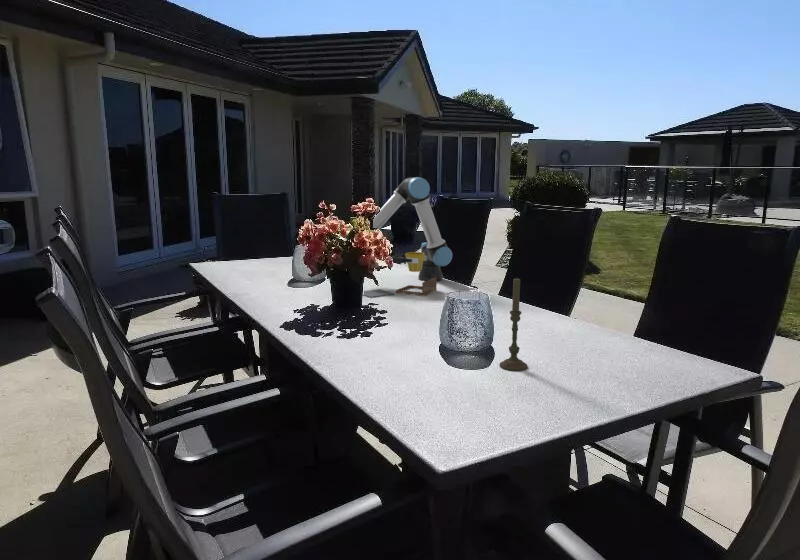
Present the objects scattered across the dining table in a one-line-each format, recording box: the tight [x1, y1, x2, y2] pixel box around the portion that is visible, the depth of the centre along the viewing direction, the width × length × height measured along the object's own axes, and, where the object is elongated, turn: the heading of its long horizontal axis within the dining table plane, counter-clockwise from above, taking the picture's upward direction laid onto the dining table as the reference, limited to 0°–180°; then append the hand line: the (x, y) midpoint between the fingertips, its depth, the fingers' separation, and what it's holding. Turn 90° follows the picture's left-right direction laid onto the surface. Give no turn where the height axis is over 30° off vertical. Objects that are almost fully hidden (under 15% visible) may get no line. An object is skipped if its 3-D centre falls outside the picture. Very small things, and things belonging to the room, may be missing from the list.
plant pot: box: [405, 251, 425, 273], centre depth 303 cm, size 10×10×10 cm
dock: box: [395, 278, 437, 296], centre depth 305 cm, size 17×17×7 cm
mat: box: [363, 288, 395, 299], centre depth 300 cm, size 15×15×1 cm
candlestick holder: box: [499, 278, 529, 372], centre depth 180 cm, size 9×9×30 cm
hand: (422, 259), depth 301 cm, fingers closed on plant pot, 10 cm apart
